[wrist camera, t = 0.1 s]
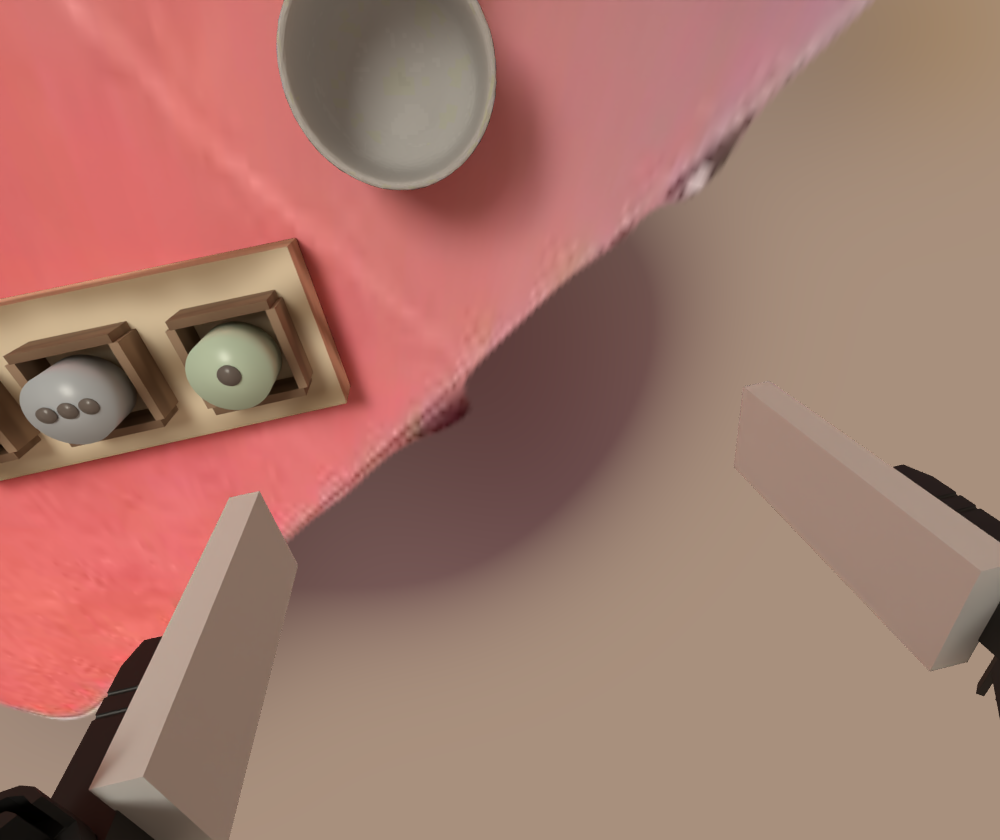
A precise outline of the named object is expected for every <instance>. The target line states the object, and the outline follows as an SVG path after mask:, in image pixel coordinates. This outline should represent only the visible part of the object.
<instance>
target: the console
mask: <svg viewBox="0 0 1000 840" xmlns="http://www.w3.org/2000/svg"><path fill="white" fill-rule="evenodd" d="M231 321H238V322H245V323H249V324H252V325H255V326H257V327H259V328H261V329H262V330H264V331H265V332H267V333H268V334H269V335H270V336H271V337H272V338H273V339H274V341H275V342H276V344H277V345H278V347H279V349H280V352H281V356H282V367H281V370H280V373H279V375H278V377H277V379H276V381H275V382H274V384H273V386H272V388H271V390H270V392H269V394H268V395H267V397H266V398H265V399H264V400H263V401H262V402H261V403H259V404H258V405H256V406H254V407H252V408H248V409H243V410H229V409H224V408H220V407H217V406H215V405H213V404H210V403H209V402H207V401H205V400H204V399H203V398H201V397H200V396H199V395H198V394H197V393H196V392H195V391H194V390H193V388H192V387H191V385H190V384H189V382H188V379H187V376H186V372H185V363H186V359H187V356H188V354H189V353H190V351H191V350H192V349H193V348H194V347H195V346H196V345H197V344H198V343H199V342H200V340H201V339H202V338H203V337H204V336H205V335H206V334H207V333H208V332H209V331H210V330H211V329H213V328H214V327H216V326H217V325H219V324H222V323H225V322H231ZM79 354H84V355H92V356H97V357H100V358H103V359H105V360H108V361H110V362H112V363H113V364H115V365H117V366H118V367H119V368H121V369H122V370H123V371H124V372H125V373H126V374H127V375H128V377H129V379H130V380H131V382H132V383H133V385H134V386H135V389H136V393H137V401H136V405H135V407H134V409H133V410H132V411H131V412H130V413H129V414H128V416H127V417H126V418H125V419H124V420H123V421H122V422H121V423H120V424H119V425H118V426H117V427H116V428H115V429H114V430H113V431H112V432H111V433H110V434H109V435H108V436H107V437H106V438H104V439H102V440H100V441H98V442H95V443H91V444H70V443H65V442H62V441H58V440H56V439H53V438H51V437H49V436H47V435H45V434H44V433H42V432H40V431H39V430H38V429H36V428H35V427H34V426H33V425H32V424H31V423H30V422H29V421H28V420H27V418H26V417H25V415H24V413H23V411H22V409H21V406H20V392H21V390H22V388H23V387H24V385H25V384H26V383H27V382H28V381H30V380H31V379H33V378H34V377H36V376H37V375H39V374H40V373H42V372H43V371H45V370H46V369H47V368H49V367H50V366H52V365H53V364H55V363H56V362H58V361H59V360H61V359H63V358H65V357H67V356H71V355H79ZM349 391H350V383H349V381H348V378H347V375H346V372H345V370H344V367H343V364H342V362H341V359H340V356H339V354H338V351H337V348H336V345H335V343H334V340H333V337H332V335H331V332H330V329H329V326H328V324H327V321H326V318H325V316H324V313H323V310H322V308H321V305H320V302H319V299H318V297H317V294H316V291H315V289H314V286H313V283H312V280H311V278H310V275H309V272H308V270H307V267H306V264H305V262H304V259H303V256H302V253H301V251H300V248H299V245H298V243H297V240H296V238H292V239H288V240H283V241H278V242H273V243H268V244H263V245H259V246H254V247H249V248H244V249H239V250H234V251H230V252H225V253H220V254H215V255H210V256H206V257H201V258H196V259H191V260H186V261H181V262H177V263H172V264H167V265H162V266H157V267H152V268H148V269H143V270H138V271H133V272H128V273H123V274H119V275H114V276H109V277H104V278H99V279H95V280H90V281H85V282H80V283H75V284H70V285H66V286H61V287H56V288H51V289H46V290H41V291H37V292H32V293H27V294H22V295H17V296H12V297H8V298H3V299H0V481H2V480H6V479H11V478H15V477H20V476H24V475H29V474H33V473H37V472H42V471H46V470H51V469H55V468H60V467H64V466H69V465H73V464H78V463H82V462H86V461H91V460H95V459H100V458H104V457H109V456H113V455H118V454H122V453H127V452H131V451H136V450H140V449H144V448H149V447H153V446H158V445H162V444H167V443H171V442H176V441H180V440H185V439H189V438H193V437H198V436H202V435H207V434H211V433H216V432H220V431H225V430H229V429H234V428H238V427H243V426H247V425H251V424H256V423H260V422H265V421H269V420H274V419H278V418H283V417H287V416H292V415H296V414H301V413H305V412H309V411H314V410H318V409H323V408H327V407H332V406H336V405H341V404H345V403H347V400H348V395H349Z"/></svg>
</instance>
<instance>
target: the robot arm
mask: <svg viewBox="0 0 1000 840" xmlns="http://www.w3.org/2000/svg"><path fill="white" fill-rule="evenodd" d="M734 468H735V469H736V470H737V471H738V472H739V473H740V474H741V475H742V476H743V477H744V478H745V479H746V480H747V481H748V482H749V483H750V484H751V485H752V486H753V487H754V488H755V490H757V491H758V493H759V494H760V495H761V496H762V497H763V498H764V499H765V500H766V501H767V502H768V503H769V504H770V505H771V506H772V507H773V508H774V509H775V510H776V511H777V512H778V514H779V515H780V516H781V517H782V518H783V519H784V520H785V521H786V522H787V523H788V524H789V525H790V526H791V527H792V528H793V529H794V530H795V531H796V532H797V533H798V534H799V535H800V536H801V538H802V539H803V540H804V541H805V542H806V543H807V544H808V545H809V546H810V547H811V548H812V549H813V550H814V551H815V552H816V553H817V554H818V555H819V556H820V557H821V558H822V560H824V562H825V563H826V564H827V565H828V566H829V567H830V568H831V569H832V570H833V571H834V572H835V573H836V574H837V575H838V576H839V577H840V578H841V579H842V580H843V581H844V582H845V584H846V585H847V586H848V587H849V588H850V589H851V590H852V591H853V592H854V593H855V594H856V595H857V596H858V597H859V598H860V599H861V600H862V601H863V602H864V603H865V604H866V605H867V607H868V608H869V609H870V610H871V611H872V612H873V613H874V614H875V615H876V616H877V617H878V618H879V619H880V620H881V621H882V622H883V623H884V624H885V625H886V626H887V627H888V628H889V630H890V631H891V632H892V633H893V634H894V635H895V636H896V637H897V638H898V639H899V640H900V641H901V642H902V643H903V644H904V645H905V646H906V647H907V648H908V649H909V650H910V651H911V652H912V654H913V655H914V656H915V657H916V658H917V659H918V660H919V661H920V662H921V663H922V664H923V665H924V666H925V667H926V668H927V669H928V670H929V671H934V670H938V669H942V668H946V667H950V666H954V665H957V664H961V663H965V662H968V660H969V658H970V657H971V655H972V653H973V651H974V650H975V648H976V646H977V644H978V643H979V642H981V644H983V645H984V646H985V647H986V648H987V649H988V650H989V651H990V652H991V653H993V654H994V655H995V656H994V658H993V660H992V661H991V663H990V665H989V666H988V668H987V669H986V671H985V673H984V674H983V676H982V678H981V679H980V681H979V682H978V685H977V692H976V694H979V695H982V696H984V695H985V694H986V692H987V691H988V689H989V688H990V686H991V685H992V684H994V690H995V695H996V701H997V706H998V711H999V717H1000V521H998V520H997V519H995V518H994V517H993V516H991V515H989V514H988V513H986V512H985V511H984V510H982V509H977V508H976V505H975V504H973V503H972V502H970V501H969V500H967V499H966V498H964V497H963V496H961V495H960V496H957V495H956V492H955V491H953V490H952V489H951V488H949V487H948V486H946V485H944V484H943V483H941V482H940V481H939V480H937V479H936V478H934V477H933V476H930V475H927V474H925V473H923V472H920V471H918V470H915V469H913V468H910V467H908V466H906V465H899V466H895V467H892V466H890V465H889V464H887V463H886V462H885V461H883V460H882V459H880V458H879V457H877V456H876V455H874V454H873V453H872V452H870V451H869V450H867V449H866V448H865V447H863V446H862V445H860V444H859V443H858V442H856V441H855V440H853V439H852V438H850V437H849V436H848V435H846V434H845V433H843V432H842V431H840V430H839V429H838V428H836V427H835V426H833V425H832V424H831V423H829V422H828V421H826V420H825V419H823V418H822V417H821V416H819V415H818V414H816V413H815V412H813V411H812V410H810V409H809V408H808V407H806V406H805V405H803V404H802V403H801V402H799V401H798V400H796V399H795V398H794V397H792V396H791V395H789V394H788V393H786V392H785V391H784V390H782V389H781V388H779V387H778V386H776V385H775V384H774V383H772V382H771V381H767V382H763V383H758V384H753V385H749V386H744V387H743V394H742V403H741V411H740V419H739V428H738V437H737V444H736V453H735V461H734ZM297 566H298V564H297V562H296V560H295V559H294V557H293V555H292V553H291V551H290V549H289V547H288V545H287V543H286V541H285V539H284V537H283V536H282V534H281V532H280V530H279V528H278V526H277V524H276V522H275V520H274V518H273V516H272V514H271V512H270V511H269V509H268V507H267V505H266V503H265V501H264V499H263V497H262V495H261V493H260V491H258V492H253V493H248V494H244V495H239V496H234V497H230V498H229V499H228V502H227V504H226V506H225V508H224V510H223V512H222V514H221V516H220V518H219V520H218V522H217V524H216V526H215V528H214V531H213V533H212V535H211V537H210V539H209V541H208V543H207V545H206V547H205V549H204V551H203V553H202V555H201V558H200V560H199V562H198V564H197V566H196V568H195V570H194V572H193V574H192V576H191V578H190V580H189V582H188V584H187V587H186V589H185V591H184V593H183V595H182V597H181V599H180V601H179V603H178V605H177V607H176V609H175V611H174V613H173V616H172V618H171V620H170V622H169V624H168V626H167V628H166V630H165V632H164V634H163V636H161V637H156V638H152V639H148V640H144V641H143V642H142V643H141V644H140V645H139V647H138V648H137V649H136V650H135V651H134V652H133V653H132V655H131V656H130V657H129V658H128V659H127V660H126V661H125V662H124V664H123V665H122V666H121V668H120V670H119V672H118V673H117V675H116V677H115V679H114V681H113V683H112V685H111V687H110V688H109V690H108V692H107V693H108V697H106V698H104V700H103V702H102V704H101V705H100V707H99V709H98V711H97V713H96V719H95V720H94V721H92V722H91V724H90V726H89V728H88V730H87V732H86V734H85V735H84V737H83V739H82V741H81V743H80V745H79V747H78V749H77V751H76V752H75V755H74V756H73V758H72V760H71V762H70V764H69V766H68V767H67V769H66V771H65V773H64V775H63V777H62V779H61V781H60V782H59V785H58V786H57V788H56V790H55V792H54V794H53V796H52V798H49V797H48V796H47V795H45V794H44V793H42V792H41V791H40V790H38V789H37V788H36V787H31V786H18V787H14V788H11V789H8V790H6V791H3V792H0V840H229V837H230V833H231V829H232V825H233V821H234V817H235V813H236V809H237V805H238V801H239V797H240V793H241V789H242V785H243V781H244V777H245V773H246V769H247V765H248V761H249V757H250V753H251V749H252V745H253V741H254V737H255V733H256V729H257V726H258V721H259V717H260V714H261V710H262V706H263V702H264V698H265V694H266V690H267V685H268V681H269V678H270V673H271V670H272V666H273V662H274V658H275V654H276V650H277V646H278V642H279V638H280V634H281V630H282V626H283V622H284V618H285V614H286V610H287V606H288V602H289V598H290V594H291V590H292V586H293V582H294V579H295V575H296V571H297Z"/></svg>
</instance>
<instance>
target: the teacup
mask: <svg viewBox="0 0 1000 840" xmlns="http://www.w3.org/2000/svg"><path fill="white" fill-rule="evenodd" d="M277 60H278V67H279V73H280V77H281V81H282V86H283V89H284V92H285V96H286V99H287V101H288V103H289V106H290V108H291V110H292V113H293V115H294V117H295V119H296V120H297V122H298V124H299V126H300V127H301V129H302V130H303V132H304V133H305V135H306V136H307V138H308V139H309V141H310V142H311V143H312V144H313V145H314V147H315V148H316V149H317V150H318V151H319V152H320V153H321V154H322V155H323V156H324V157H325V158H326V159H327V160H328V161H329V162H331V163H332V164H333V165H334V166H336V167H337V168H338V169H340V170H341V171H343V172H345V173H346V174H348V175H350V176H351V177H353V178H355V179H357V180H359V181H362V182H364V183H367V184H369V185H372V186H375V187H379V188H383V189H391V190H414V189H419V188H423V187H427V186H429V185H432V184H434V183H436V182H438V181H440V180H442V179H444V178H446V177H447V176H449V175H450V174H452V173H453V172H454V171H455V170H456V169H458V168H459V167H460V166H461V165H462V164H463V163H464V162H465V161H466V160H467V159H468V158H469V157H470V155H471V154H472V153H473V152H474V150H475V149H476V147H477V145H478V144H479V143H480V141H481V139H482V137H483V135H484V133H485V130H486V128H487V126H488V124H489V121H490V116H491V113H492V110H493V105H494V100H495V96H496V59H495V52H494V45H493V40H492V36H491V32H490V29H489V26H488V24H487V21H486V19H485V17H484V14H483V12H482V10H481V7H480V5H479V3H478V1H477V0H284V2H283V5H282V9H281V12H280V16H279V20H278V30H277Z"/></svg>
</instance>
